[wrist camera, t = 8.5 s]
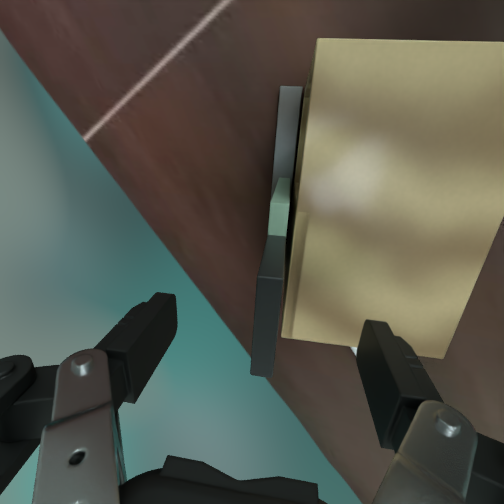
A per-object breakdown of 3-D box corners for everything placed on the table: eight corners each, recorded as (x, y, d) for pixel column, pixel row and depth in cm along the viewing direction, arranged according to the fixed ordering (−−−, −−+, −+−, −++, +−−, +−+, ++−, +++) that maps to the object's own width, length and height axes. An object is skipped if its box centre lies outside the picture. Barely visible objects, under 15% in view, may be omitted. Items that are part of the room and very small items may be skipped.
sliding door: (279, 177, 24) (260, 231, 9) (290, 178, 24) (288, 234, 9) (271, 263, 27) (247, 403, 13) (281, 264, 27) (268, 406, 13)
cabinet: (280, 87, 22) (270, 36, 12) (433, 93, 21) (577, 43, 11) (265, 262, 29) (250, 333, 18) (384, 274, 27) (443, 359, 17)
